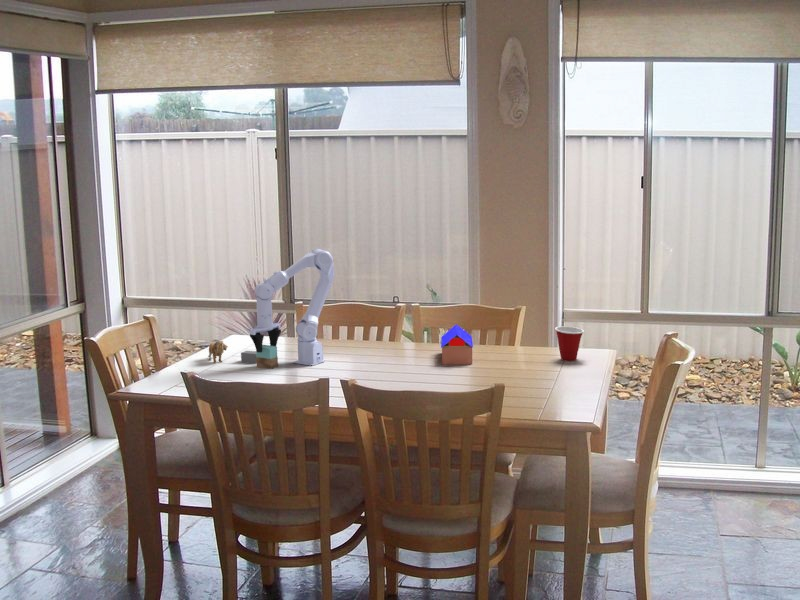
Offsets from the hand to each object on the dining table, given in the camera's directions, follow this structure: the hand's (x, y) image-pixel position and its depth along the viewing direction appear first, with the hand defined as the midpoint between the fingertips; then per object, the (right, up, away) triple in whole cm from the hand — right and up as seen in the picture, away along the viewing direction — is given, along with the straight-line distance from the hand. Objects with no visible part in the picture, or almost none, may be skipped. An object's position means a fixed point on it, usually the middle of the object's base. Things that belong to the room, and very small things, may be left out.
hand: (266, 350), depth 339 cm
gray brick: (-7, -5, +10) cm, 13 cm away
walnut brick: (0, -7, +1) cm, 7 cm away
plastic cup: (+115, -4, +1) cm, 115 cm away
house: (+73, -4, +7) cm, 73 cm away
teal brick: (0, -3, 0) cm, 3 cm away
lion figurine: (-21, -5, +12) cm, 25 cm away
